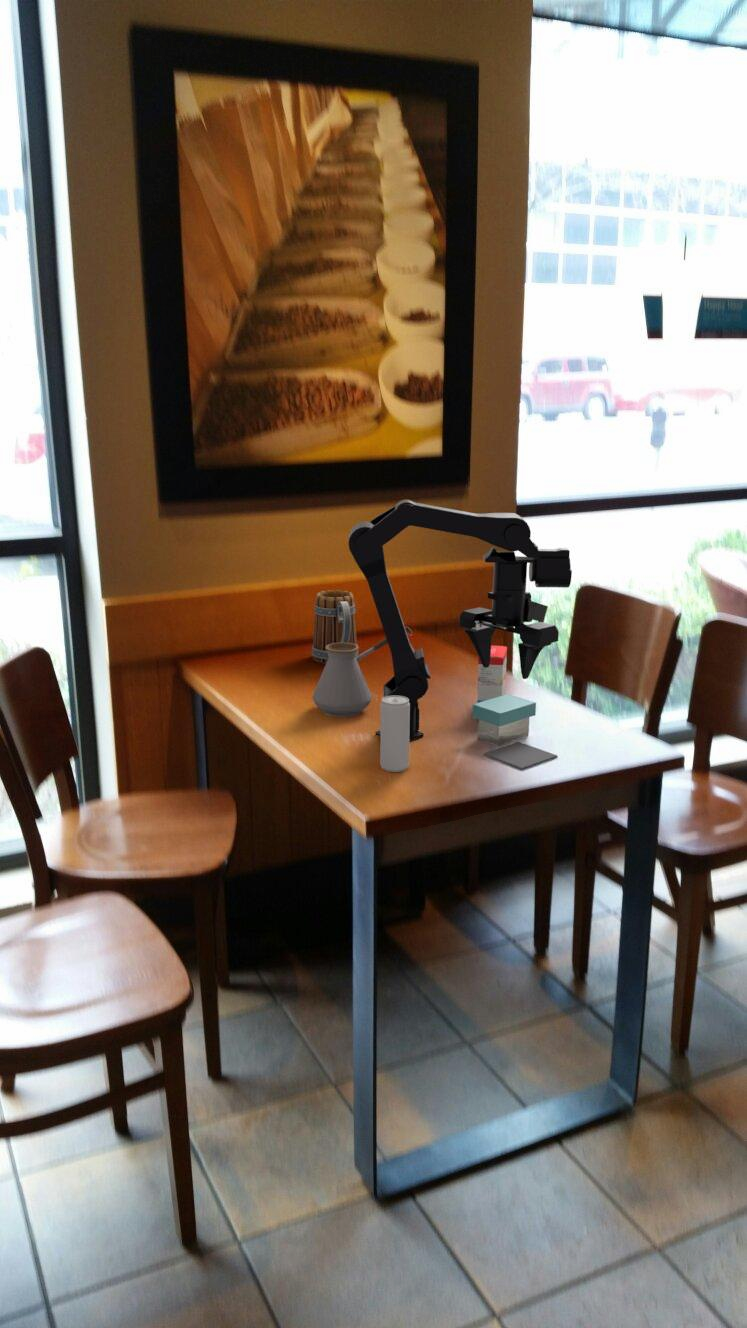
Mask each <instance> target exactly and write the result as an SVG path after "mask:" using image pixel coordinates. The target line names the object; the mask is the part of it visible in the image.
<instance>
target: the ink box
mask: <svg viewBox="0 0 747 1328" xmlns="http://www.w3.org/2000/svg"><path fill="white" fill-rule="evenodd" d="M507 655H508V646H505V645H491V656H490V664H489V667H487V668H484V667H483V665H482V662H481V660H480V658H479V657H477V658H478V662H477V663H478V665H477V668H478V669H477V673H478V674H477V702H476V703H479V702H483V701H486V700H490V699H493V698H497V697H500V696H504V695H506V686H507V685H506V681H507V657H508V656H507Z"/></svg>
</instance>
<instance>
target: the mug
mask: <svg viewBox="0 0 747 1328" xmlns="http://www.w3.org/2000/svg"><path fill="white" fill-rule="evenodd" d="M313 611H314V612H313V613H314V621H313V622H314V624H313V625H314V626H313V639H312V641H313V642H312V645H311V655H312V659H313V661H315V662H317V663H319V664H323V665H326V663H327V661H328V658H329V655H328V651H327V650H326V649H325V647H326V646H327V645H329V644H332V643H352V644H356V645H358V642H357V629H356V619H355V618H356V617H355V613H356V604H355V601H354V595H353V593H352V592H349V591H348V590H343V591H342V590H335V591H334V590H332V589H331V590H329V589H328V590H327V591H326V590H322V591H320V592H317V593H316V596H315V602H314V609H313ZM358 655H359V649H358V650H357V652H356V656H358ZM356 656H355V657H356Z"/></svg>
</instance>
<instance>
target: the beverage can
mask: <svg viewBox="0 0 747 1328" xmlns="http://www.w3.org/2000/svg"><path fill="white" fill-rule="evenodd" d="M409 730H410V703H409V699H408V698H407V697H404V696H398V695H392V696H386V697H384V696H383V697H382V698H381V702H380V729H379V731H380V736H379V737H380V741H379V742H380V743H379V745H380V748H379V749H380V751H379V752H380V755H379V756H380V757H379V758H380V759H379V761H380V762H379V764H380V766H381V768H382V769H383V771H385V772H389V773H400V772H404V771H405V770H407V769H408V768H409V764H410V740H409Z"/></svg>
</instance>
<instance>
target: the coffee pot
mask: <svg viewBox="0 0 747 1328" xmlns="http://www.w3.org/2000/svg"><path fill="white" fill-rule="evenodd" d="M404 627H405V630H406V633H407V635H409V636H413V635H414V633H413V631H412V629H411V628H410V627H409V626H408V625H407V626H404ZM408 630H409V631H410V632H411V634H410V633H409V632H408ZM387 644H388V642H387V639H386V637H385V638H383V639H381V640H379V642H378V643H376V644H374V645H373V646H372V647H370V648H369V649H367V650H365V651H363V652H362V653H360V654H358V656H356V652H357V650H358V651H359V649H360V647H359V645H358V644H357V645H356V644H352V643H332V644H329V645H327V646H326V647H325V649H326V650H327V651H328V655H329V658H328V661H327V663H326V664H324V665H325V666H324V668H323V670H322V672H321V675H320V677H319V680H318V683H316V684H317V685H316V687H315V690H314V692H313V694H312V701H313V702H314V705H315V706H316V707H317V708H318V709H319V710H321V711H322V713H323V714H325V715H327V716H331V717H336V718H337V717H339V718H345V717H346V718H347V717H353V716H358V715H359V714H361V713H362V712H363V710H365V709H366V708H367V707H368V706H369V705H370V703H371V702H372V698H373V695H372V693H371V690H370V689H369V686H368V683H367V680H366V679H365V677H364V674H363V672H362V669H361V667H360V665H359V661H361V660H363V659H364V658H365V657H367V656H368V655H369V654H371V653H373V652H375V651H377V650H378V649H381V648H382V647H384V646H386V645H387ZM355 656H356V657H355Z"/></svg>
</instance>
